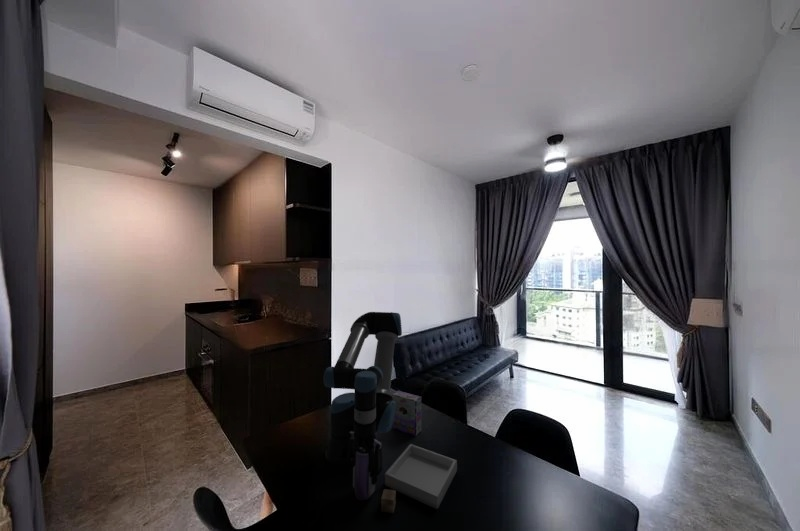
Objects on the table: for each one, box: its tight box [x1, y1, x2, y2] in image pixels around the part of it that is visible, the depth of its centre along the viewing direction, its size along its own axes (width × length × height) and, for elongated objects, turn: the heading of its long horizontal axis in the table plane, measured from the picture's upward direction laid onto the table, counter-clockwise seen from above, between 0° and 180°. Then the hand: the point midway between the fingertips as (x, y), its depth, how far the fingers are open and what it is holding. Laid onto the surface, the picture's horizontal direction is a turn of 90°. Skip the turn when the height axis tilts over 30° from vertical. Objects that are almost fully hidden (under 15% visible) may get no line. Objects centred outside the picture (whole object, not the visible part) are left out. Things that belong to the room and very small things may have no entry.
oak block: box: [380, 488, 397, 514], centre depth 88 cm, size 4×4×4 cm
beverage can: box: [354, 448, 373, 501], centre depth 93 cm, size 6×6×15 cm
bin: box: [384, 443, 458, 511], centre depth 100 cm, size 20×20×4 cm
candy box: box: [391, 390, 422, 437], centre depth 132 cm, size 14×6×16 cm, turn 58°
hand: (363, 488), depth 92 cm, fingers closed on beverage can, 6 cm apart
